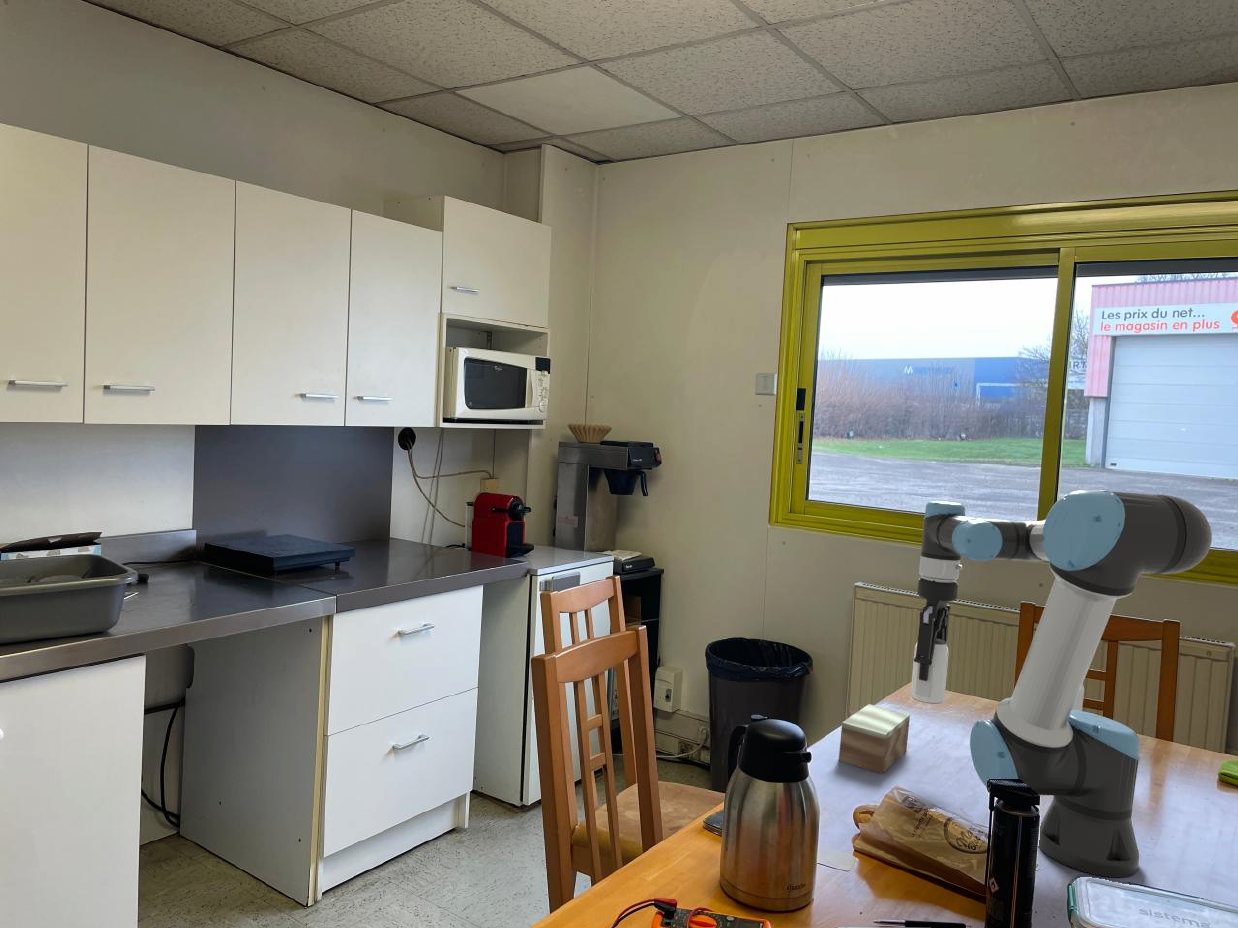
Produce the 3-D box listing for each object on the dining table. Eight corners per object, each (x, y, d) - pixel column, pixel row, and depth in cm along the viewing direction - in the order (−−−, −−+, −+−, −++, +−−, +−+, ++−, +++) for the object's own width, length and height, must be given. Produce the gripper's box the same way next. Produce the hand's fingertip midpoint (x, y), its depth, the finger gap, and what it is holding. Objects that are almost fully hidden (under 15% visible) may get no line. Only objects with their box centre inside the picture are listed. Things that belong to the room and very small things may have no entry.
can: (939, 695, 184) (944, 638, 183) (947, 705, 177) (953, 645, 177) (907, 692, 185) (912, 635, 184) (914, 702, 178) (919, 642, 177)
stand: (881, 773, 179) (885, 734, 178) (838, 760, 184) (842, 722, 183) (906, 751, 192) (910, 714, 191) (865, 739, 197) (868, 703, 196)
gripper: (944, 587, 170) (933, 707, 171) (969, 576, 186) (959, 686, 187) (904, 580, 174) (894, 697, 175) (932, 570, 190) (922, 678, 191)
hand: (927, 691), depth 181 cm, fingers closed on can, 6 cm apart
